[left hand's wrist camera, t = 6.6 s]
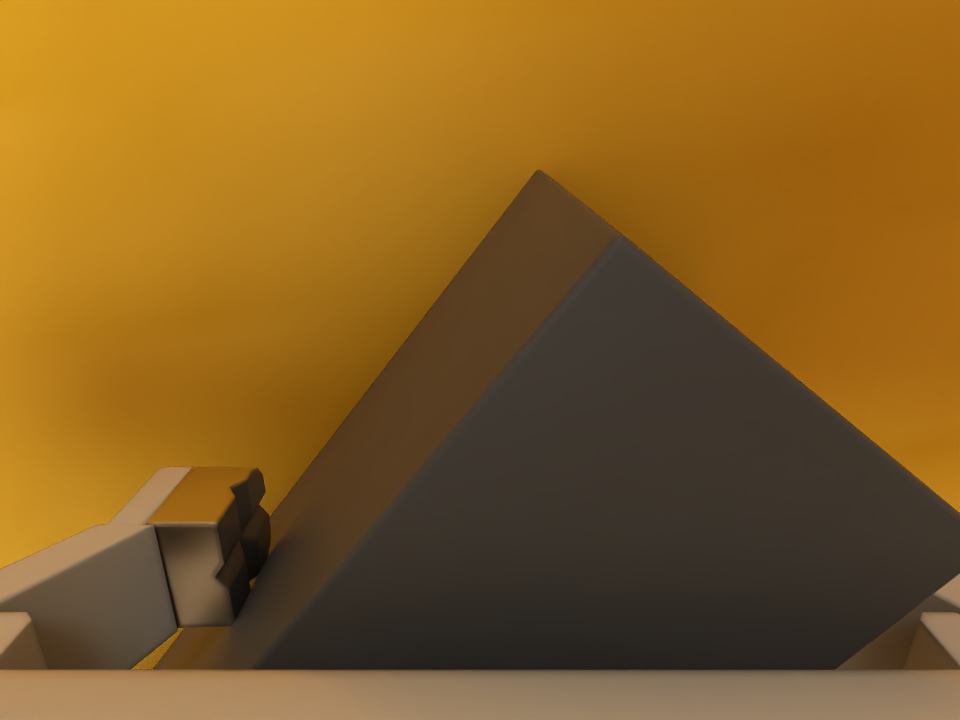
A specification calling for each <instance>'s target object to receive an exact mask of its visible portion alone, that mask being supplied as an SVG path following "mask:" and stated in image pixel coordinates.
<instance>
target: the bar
mask: <svg viewBox="0 0 960 720" xmlns="http://www.w3.org/2000/svg"><path fill="white" fill-rule="evenodd" d="M270 526H271V544H270V549H269V553H268V557H267V559H266V561H265V563H264V565H263V567H262V569H261V571H260V572H259V574H258V575H257V577H255V578H254V579H252V580H251V581H249V582H250V589H251V591H250V593H249V595H248V597H247V599H246V601H245V603H244V605H243V607H242V609H241V611H240V613H239V614H238V616H237V618H236V620H235V622H234V624H233V625H232V626H226V627H190V628H185V629H184V630H183V631H182V632H181V634H180V635H179V636H178V638H177V639H176V640H175V642H174V643H173V644H172V645H171V647H170V648H169V649H168V651H167V652H166V653H165V655H164V656H163V657H162V658H161V660H160V661H159V662H158V664H157V665H156V666H155V668H154V669H153V670H835V669H837V668H838V667H839V666H841V665H842V664H843V663H844V662H846V661H847V660H848V659H850V658H851V657H852V656H854V655H855V654H856V653H857V652H859V651H860V650H861V649H863V648H864V647H865V646H867V645H868V644H869V643H870V642H872V641H873V640H874V639H876V638H877V637H878V636H880V635H881V634H882V633H883V632H885V631H886V630H887V629H889V628H890V627H891V626H893V625H894V624H895V623H896V622H898V621H899V620H900V619H902V618H903V617H904V616H906V615H907V614H908V613H909V612H911V611H912V610H913V609H915V608H916V607H917V606H919V605H920V604H921V603H922V602H924V601H925V600H926V599H928V598H929V597H930V596H932V595H933V594H934V593H935V592H937V591H938V590H939V589H941V588H942V587H943V586H945V585H946V584H947V583H948V582H950V581H951V580H952V579H954V578H955V577H956V576H958V575H959V574H960V513H959V512H958V511H957V510H955V509H954V508H953V507H952V506H950V505H949V504H948V503H947V502H946V501H944V500H943V499H942V498H941V497H940V496H938V495H937V494H936V493H935V492H934V491H932V490H931V489H930V488H929V487H927V486H926V485H925V484H924V483H923V482H921V481H920V480H919V479H918V478H917V477H915V476H914V475H913V474H912V473H911V472H909V471H908V470H907V469H906V468H905V467H903V466H902V465H901V464H900V463H898V462H897V461H896V460H895V459H894V458H892V457H891V456H890V455H889V454H888V453H886V452H885V451H884V450H883V449H882V448H880V447H879V446H878V445H877V444H875V443H874V442H873V441H872V440H871V439H869V438H868V437H867V436H866V435H865V434H863V433H862V432H861V431H860V430H859V429H857V428H856V427H855V426H854V425H853V424H851V423H850V422H849V421H848V420H846V419H845V418H844V417H843V416H842V415H840V414H839V413H838V412H837V411H836V410H834V409H833V408H832V407H831V406H830V405H828V404H827V403H826V402H825V401H823V400H822V399H821V398H820V397H819V396H817V395H816V394H815V393H814V392H813V391H811V390H810V389H809V388H808V387H807V386H805V385H804V384H803V383H802V382H800V381H799V380H798V379H797V378H796V377H794V376H793V375H792V374H791V373H790V372H788V371H787V370H786V369H785V368H784V367H782V366H781V365H780V364H779V363H778V362H776V361H775V360H774V359H773V358H771V357H770V356H769V355H768V354H767V353H765V352H764V351H763V350H762V349H761V348H759V347H758V346H757V345H756V344H755V343H753V342H752V341H751V340H750V339H748V338H747V337H746V336H745V335H744V334H742V333H741V332H740V331H739V330H738V329H736V328H735V327H734V326H733V325H732V324H730V323H729V322H728V321H727V320H726V319H724V318H723V317H722V316H721V315H719V314H718V313H717V312H716V311H715V310H713V309H712V308H711V307H710V306H709V305H707V304H706V303H705V302H704V301H703V300H701V299H700V298H699V297H698V296H696V295H695V294H694V293H693V292H692V291H690V290H689V289H688V288H687V287H686V286H684V285H683V284H682V283H681V282H680V281H678V280H677V279H676V278H675V277H673V276H672V275H671V274H670V273H669V272H667V271H666V270H665V269H664V268H663V267H661V266H660V265H659V264H658V263H657V262H655V261H654V260H653V259H652V258H651V257H649V256H648V255H647V254H646V253H644V252H643V251H642V250H641V249H640V248H638V247H637V246H636V245H635V244H634V243H632V242H631V241H630V240H629V239H628V238H626V237H625V236H624V235H623V234H621V233H620V232H619V231H617V230H616V229H615V228H614V227H612V226H611V225H610V224H609V223H607V222H606V221H605V220H603V219H602V218H601V217H600V216H598V215H597V214H596V213H595V212H593V211H592V210H591V209H590V208H588V207H587V206H586V205H584V204H583V203H582V202H581V201H579V200H578V199H577V198H576V197H574V196H573V195H572V194H570V193H569V192H568V191H567V190H565V189H564V188H563V187H562V186H560V185H559V184H558V183H556V182H555V181H554V180H553V179H551V178H550V177H549V176H548V175H546V174H545V173H544V172H542V171H541V170H537V171H536V172H535V173H534V174H533V176H532V177H531V178H530V180H529V181H528V182H527V183H526V185H525V186H524V187H523V189H522V190H521V191H520V193H519V194H518V195H517V196H516V198H515V199H514V200H513V202H512V203H511V204H510V206H509V207H508V208H507V209H506V211H505V212H504V213H503V215H502V216H501V217H500V219H499V220H498V221H497V222H496V224H495V225H494V226H493V228H492V229H491V230H490V232H489V233H488V234H487V235H486V237H485V238H484V239H483V241H482V242H481V243H480V245H479V246H478V247H477V248H476V250H475V251H474V252H473V254H472V255H471V256H470V258H469V259H468V260H467V262H466V263H465V264H464V265H463V267H462V268H461V269H460V271H459V272H458V273H457V275H456V276H455V277H454V278H453V280H452V281H451V282H450V284H449V285H448V286H447V288H446V289H445V290H444V291H443V293H442V294H441V295H440V297H439V298H438V299H437V301H436V302H435V303H434V304H433V306H432V307H431V308H430V310H429V311H428V312H427V314H426V315H425V316H424V317H423V319H422V320H421V321H420V323H419V324H418V325H417V327H416V328H415V329H414V330H413V332H412V333H411V334H410V336H409V337H408V338H407V340H406V341H405V342H404V343H403V345H402V346H401V347H400V349H399V350H398V351H397V353H396V354H395V355H394V357H393V358H392V359H391V360H390V362H389V363H388V364H387V366H386V367H385V368H384V370H383V371H382V372H381V373H380V375H379V376H378V377H377V379H376V380H375V381H374V383H373V384H372V385H371V386H370V388H369V389H368V390H367V392H366V393H365V394H364V396H363V397H362V398H361V399H360V401H359V402H358V403H357V405H356V406H355V407H354V409H353V410H352V411H351V412H350V414H349V415H348V416H347V418H346V419H345V420H344V422H343V423H342V424H341V425H340V427H339V428H338V429H337V431H336V432H335V433H334V435H333V436H332V437H331V438H330V440H329V441H328V442H327V444H326V445H325V446H324V448H323V449H322V450H321V452H320V453H319V454H318V455H317V457H316V458H315V459H314V461H313V462H312V463H311V465H310V466H309V467H308V468H307V470H306V471H305V472H304V474H303V475H302V476H301V478H300V479H299V480H298V481H297V483H296V484H295V485H294V487H293V488H292V489H291V491H290V492H289V493H288V494H287V496H286V497H285V498H284V500H283V501H282V502H281V504H280V505H279V506H278V507H277V509H276V510H275V511H274V513H273V514H272V515H271V517H270Z"/></svg>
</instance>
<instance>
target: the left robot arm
mask: <svg viewBox="0 0 960 720" xmlns="http://www.w3.org/2000/svg"><path fill="white" fill-rule="evenodd" d="M265 492H266V491H265V486H264V480H263V475H262V473H261V472H260V471H259V469H258V468H231V467H194V466H185V467H164V468H160V469H159V470H158V471H157V472H156V473H155V474H154V475H153V476H152V477H151V478H150V479H149V480H148V482H147V483H146V484H145V485H144V486H143V487H142V488H141V489H140V490H139V491H138V492H137V493H136V494H135V495H134V497H133V498H132V499H131V500H130V501H129V502H128V503H127V504H126V505H125V506H124V507H123V508H122V509H121V510H120V512H119V513H118V514H117V515H116V516H115V517H114V518H113V519H112V520H111V521H110V522H109V523H108V524H107V525H95V526H93V527H91V528H89V529H86V530H84V531H82V532H80V533H78V534H75V535H73V536H71V537H69V538H67V539H65V540H62V541H60V542H58V543H56V544H54V545H51V546H49V547H47V548H45V549H43V550H41V551H38V552H36V553H34V554H32V555H30V556H27V557H25V558H23V559H21V560H19V561H17V562H14V563H12V564H10V565H8V566H6V567H3V568H1V569H0V720H960V574H959V575H958V576H956V577H955V578H954V579H952V580H951V581H950V582H948V583H947V584H946V585H945V586H943V587H942V588H941V589H939V590H938V591H937V592H935V593H934V594H933V595H932V596H930V597H929V598H928V599H926V600H925V601H924V602H922V603H921V604H920V605H919V606H917V607H916V608H915V609H913V610H912V611H911V612H909V613H908V614H907V615H906V616H904V617H903V618H902V619H900V620H899V621H898V622H896V623H895V624H894V625H893V626H891V627H890V628H889V629H887V630H886V631H885V632H883V633H882V634H881V635H880V636H878V637H877V638H876V639H874V640H873V641H872V642H870V643H869V644H868V645H867V646H865V647H864V648H863V649H861V650H860V651H859V652H857V653H856V654H855V655H854V656H852V657H851V658H850V659H848V660H847V661H846V662H844V663H843V664H842V665H841V666H839V667H838V668H837V669H835V670H130V669H132V668H133V667H134V666H135V665H136V664H138V663H139V662H140V661H141V660H143V659H144V658H145V657H146V656H147V655H149V654H150V653H151V652H152V651H154V650H155V649H156V648H157V647H159V646H160V645H161V644H162V643H163V642H165V641H166V640H167V639H168V638H170V637H171V636H172V635H173V634H174V633H176V632H177V631H178V629H177V628H190V627H226V626H232V625H233V624H234V622H235V620H236V618H237V616H238V614H239V613H240V611H241V609H242V607H243V605H244V603H245V601H246V599H247V597H248V595H249V593H250V591H251V589H250V582H249V581H251V580H252V579H254V578H255V577H257V575H258V574H259V572H260V571H261V569H262V567H263V565H264V563H265V561H266V559H267V557H268V553H269V549H270V544H271V526H270V518H269V514H268V513H267V512H266V511H265V510H264V509H263V508H262V507H261V506H260V505H259V503H260V501H261V499H262V497H263V495H264V494H265Z"/></svg>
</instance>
